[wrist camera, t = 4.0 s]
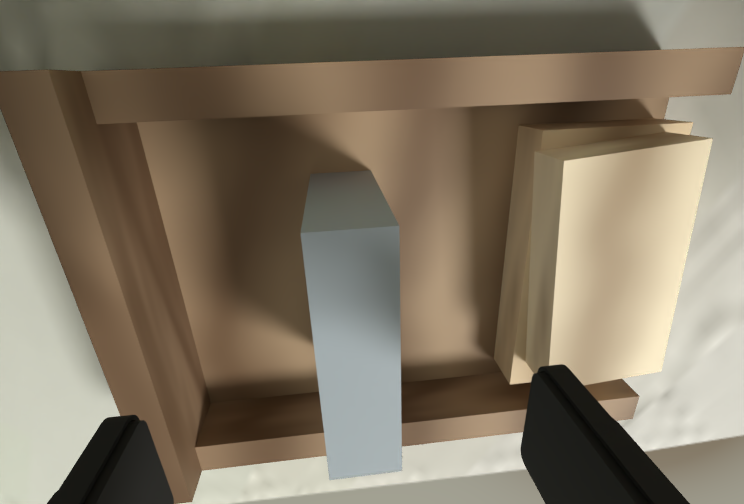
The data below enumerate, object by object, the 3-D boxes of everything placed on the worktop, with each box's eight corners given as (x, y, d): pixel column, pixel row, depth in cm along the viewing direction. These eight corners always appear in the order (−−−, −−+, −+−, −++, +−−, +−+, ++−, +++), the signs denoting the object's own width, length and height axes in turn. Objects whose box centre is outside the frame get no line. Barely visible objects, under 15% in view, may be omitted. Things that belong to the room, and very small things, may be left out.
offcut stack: (653, 118, 17) (744, 127, 13) (599, 347, 22) (654, 401, 18) (513, 125, 16) (567, 137, 13) (489, 358, 21) (524, 416, 17)
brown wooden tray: (664, 53, 17) (793, 42, 12) (590, 372, 23) (654, 443, 19) (91, 75, 15) (-14, 71, 10) (192, 416, 21) (155, 506, 17)
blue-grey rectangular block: (370, 170, 16) (399, 226, 10) (377, 347, 20) (402, 470, 14) (310, 173, 16) (300, 233, 10) (328, 351, 20) (329, 480, 13)
